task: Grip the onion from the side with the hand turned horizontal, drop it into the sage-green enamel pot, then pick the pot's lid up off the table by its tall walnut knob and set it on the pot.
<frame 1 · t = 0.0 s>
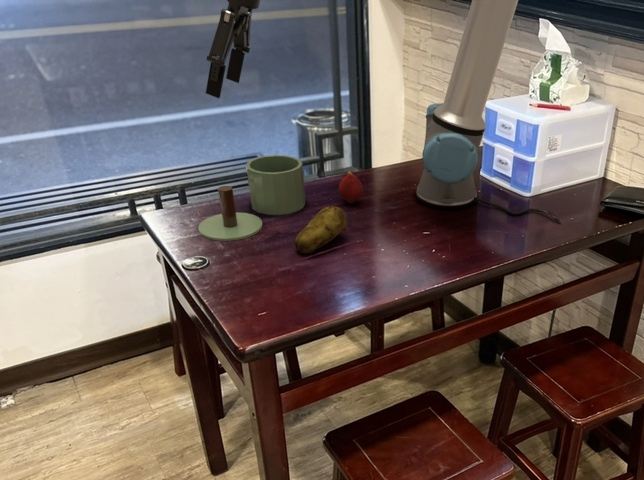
hand: (223, 87, 130), 28 cm above the table, tool tilted 20°, fingers open, 13 cm apart
potato: (321, 247, 131), on the table
onion: (351, 203, 151), on the table
pot: (278, 206, 148), on the table
lid: (231, 227, 136), point 1 cm above the table
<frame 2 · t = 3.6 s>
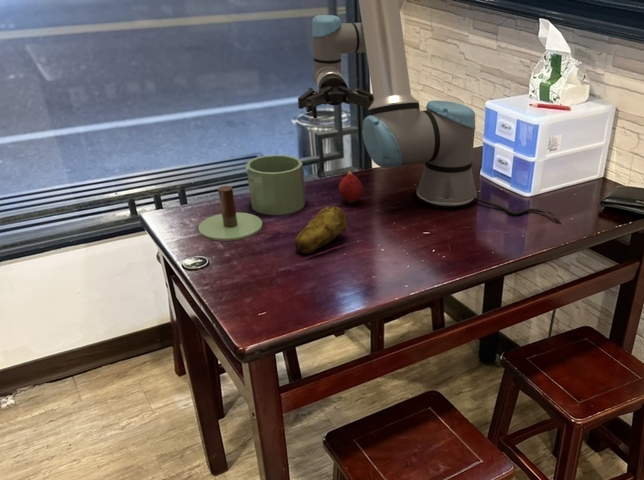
hand: (343, 112, 148), 20 cm above the table, tool horizontal, fingers open, 13 cm apart
nothing on the table moved.
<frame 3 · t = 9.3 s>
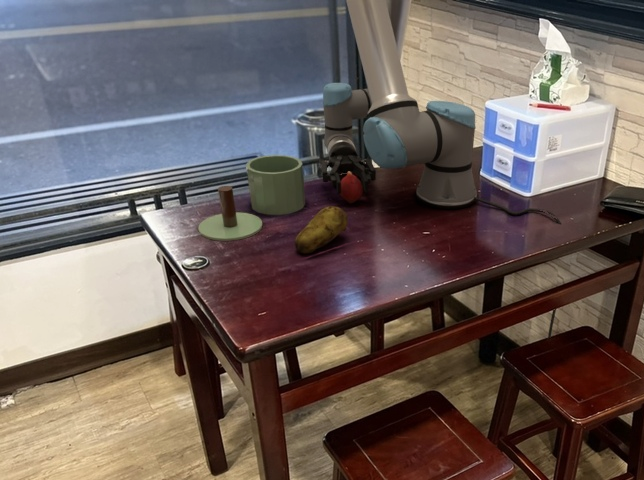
hand: (353, 187, 144), 6 cm above the table, tool horizontal, fingers closed on onion, 6 cm apart
onion: (351, 203, 151), on the table, touching gripper
everything else where it was.
when the fingers open (15 cm above the table, at t = 15.9 s): onion drops 8 cm, resting on pot.
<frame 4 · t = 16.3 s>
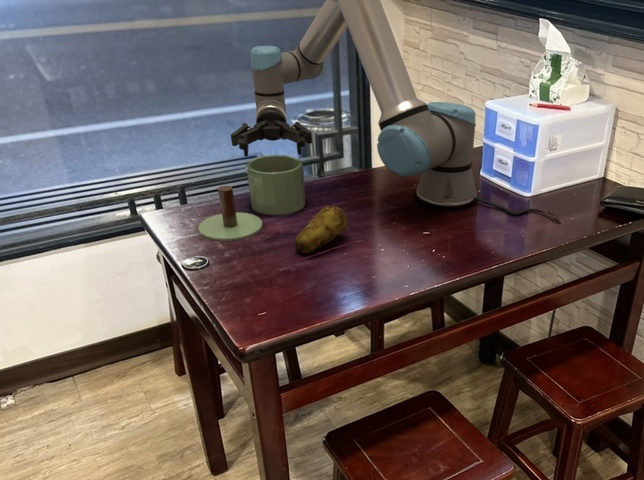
hand: (272, 149, 136), 15 cm above the table, tool horizontal, fingers open, 11 cm apart
onion: (278, 204, 148), resting on pot
everything else where it was.
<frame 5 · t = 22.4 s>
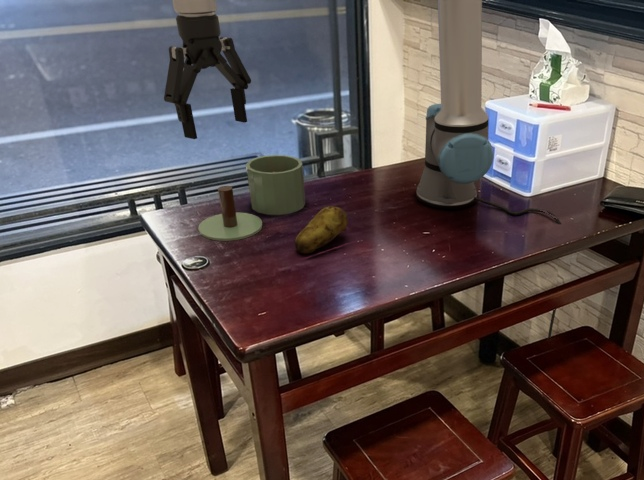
hand: (217, 129, 125), 22 cm above the table, tool pointing down, fingers open, 13 cm apart
nothing on the table moved.
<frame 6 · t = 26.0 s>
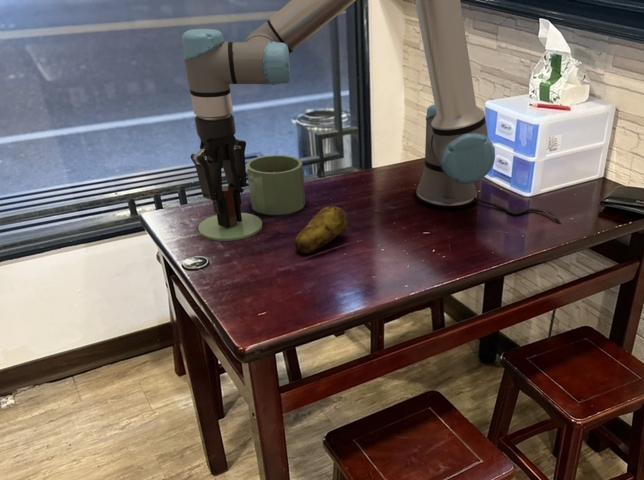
hand: (230, 222, 135), 2 cm above the table, tool pointing down, fingers closed on lid, 3 cm apart
lid: (231, 227, 136), point 1 cm above the table, touching gripper
everything else where it was.
when the fingers open (11 cm above the table, at t = 31.5 s): lid stays where it is, resting on pot.
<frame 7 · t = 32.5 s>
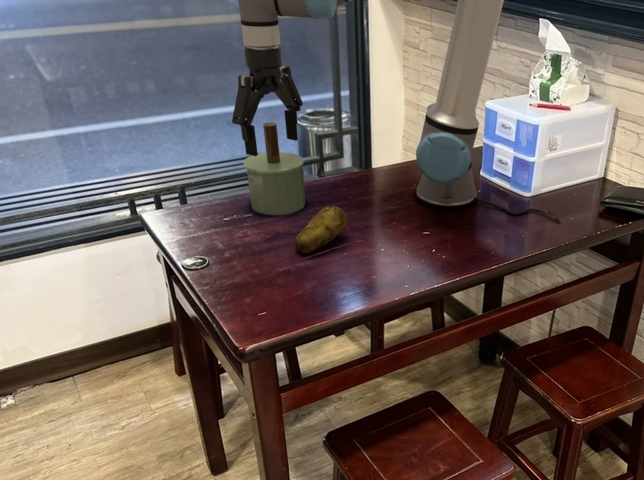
hand: (272, 147, 140), 14 cm above the table, tool pointing down, fingers open, 13 cm apart
lid: (274, 163, 142), point 10 cm above the table, touching pot
everything else where it was.
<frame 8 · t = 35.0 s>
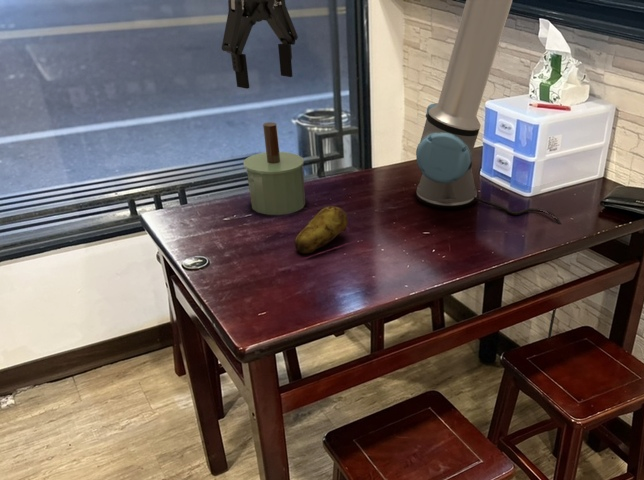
hand: (265, 81, 132), 29 cm above the table, tool pointing down, fingers open, 13 cm apart
nothing on the table moved.
at the end: onion inside the target area in the pot (0.1 cm from its centre), point 0.3 cm above the pot's base; lid 0.1 cm off-centre on the pot, point 10.5 cm above the pot's base; lid tilted 0° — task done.
